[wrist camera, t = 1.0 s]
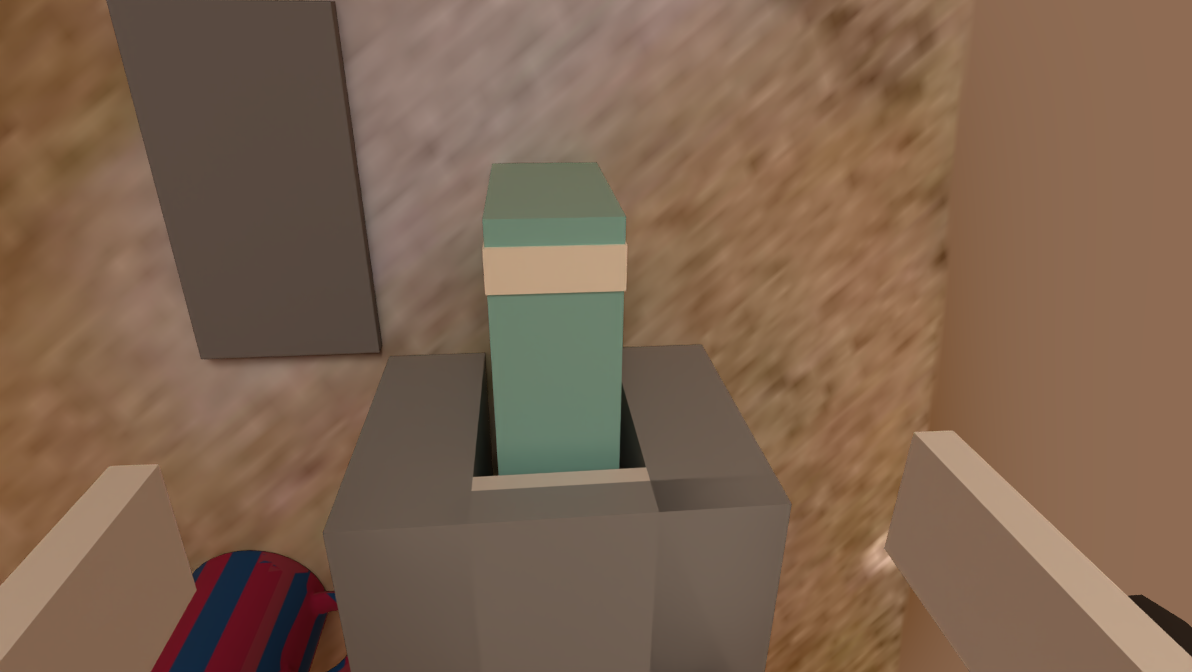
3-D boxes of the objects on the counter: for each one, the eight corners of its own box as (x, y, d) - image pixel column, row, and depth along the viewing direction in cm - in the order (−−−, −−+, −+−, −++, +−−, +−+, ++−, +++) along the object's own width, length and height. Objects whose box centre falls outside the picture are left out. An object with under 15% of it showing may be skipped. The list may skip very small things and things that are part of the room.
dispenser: (389, 356, 29) (322, 533, 19) (701, 344, 30) (791, 503, 20) (414, 540, 33) (369, 764, 23) (687, 523, 34) (755, 727, 25)
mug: (162, 562, 32) (79, 690, 26) (374, 525, 33) (340, 643, 26) (215, 660, 35) (151, 796, 29) (409, 625, 35) (386, 752, 29)
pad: (115, -2, 23) (106, -2, 22) (334, 1, 23) (330, 1, 23) (207, 352, 28) (201, 359, 27) (381, 345, 29) (379, 352, 28)
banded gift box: (491, 163, 26) (480, 220, 19) (597, 162, 26) (628, 217, 19) (505, 430, 31) (502, 557, 24) (595, 426, 31) (618, 549, 24)
